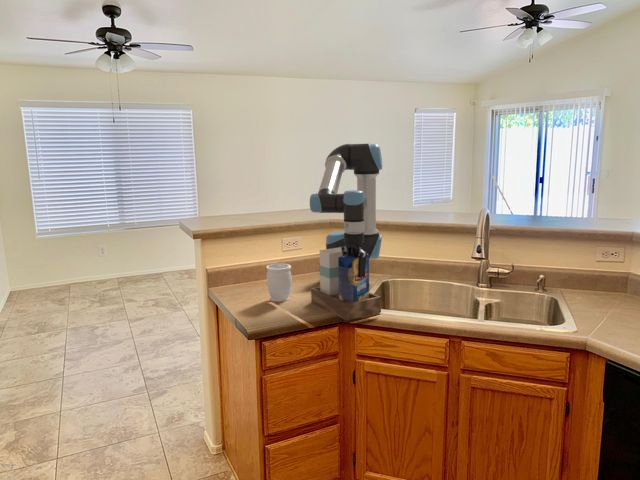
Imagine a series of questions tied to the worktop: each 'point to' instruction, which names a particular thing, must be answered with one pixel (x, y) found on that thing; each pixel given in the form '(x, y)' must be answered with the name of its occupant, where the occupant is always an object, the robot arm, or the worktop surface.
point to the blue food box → (352, 279)
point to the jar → (279, 281)
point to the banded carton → (329, 270)
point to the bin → (346, 305)
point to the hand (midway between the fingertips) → (354, 292)
